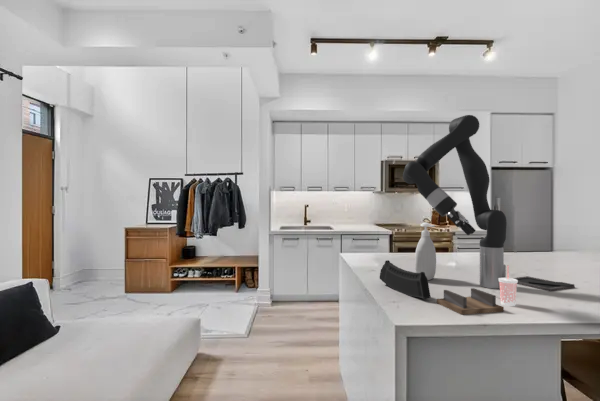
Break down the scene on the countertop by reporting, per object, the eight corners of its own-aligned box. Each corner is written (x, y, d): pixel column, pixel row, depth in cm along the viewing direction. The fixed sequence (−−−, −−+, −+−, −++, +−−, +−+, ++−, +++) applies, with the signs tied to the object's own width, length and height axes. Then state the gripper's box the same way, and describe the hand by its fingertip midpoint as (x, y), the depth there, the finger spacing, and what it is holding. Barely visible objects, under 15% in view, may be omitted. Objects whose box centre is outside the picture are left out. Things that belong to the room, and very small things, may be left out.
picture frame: (574, 289, 157) (527, 279, 176) (574, 284, 157) (527, 275, 176) (550, 293, 151) (503, 282, 170) (550, 288, 151) (503, 278, 170)
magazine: (435, 278, 134) (390, 245, 161) (427, 279, 133) (384, 245, 160) (426, 319, 139) (384, 280, 166) (419, 320, 138) (378, 280, 165)
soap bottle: (425, 283, 165) (425, 223, 165) (410, 280, 172) (410, 222, 172) (443, 279, 174) (443, 222, 174) (428, 276, 180) (428, 221, 180)
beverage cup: (509, 301, 136) (509, 263, 136) (522, 306, 130) (522, 266, 130) (494, 302, 135) (494, 264, 135) (506, 307, 129) (506, 267, 129)
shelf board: (475, 300, 137) (475, 287, 137) (503, 311, 124) (503, 296, 124) (436, 302, 134) (436, 289, 134) (461, 314, 120) (461, 299, 120)
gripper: (444, 194, 137) (477, 227, 131) (452, 195, 149) (482, 225, 143) (429, 208, 140) (461, 241, 134) (437, 208, 152) (467, 238, 146)
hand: (472, 233), depth 139 cm, fingers open, 8 cm apart
